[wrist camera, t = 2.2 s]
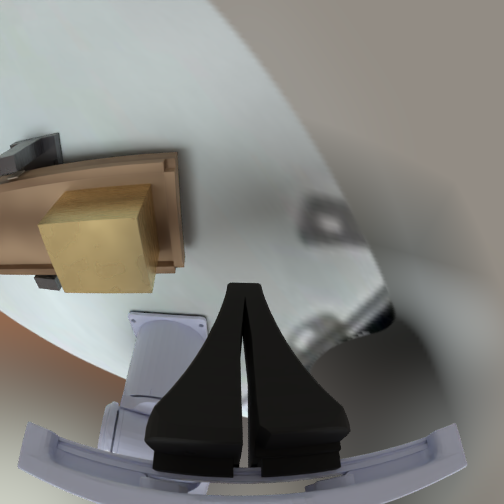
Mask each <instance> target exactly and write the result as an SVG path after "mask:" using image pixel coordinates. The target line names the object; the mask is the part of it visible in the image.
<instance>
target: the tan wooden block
mask: <svg viewBox="0 0 504 504" xmlns="http://www.w3.org/2000/svg"><path fill="white" fill-rule="evenodd" d="M38 228H39V231H40V234H41V236H42V239H43V242H44V244H45V247H46V250H47V252H48V255H49V257H50V260H51V262H52V265H53V267H54V269H55V272H56V274H57V276H58V279H59V281H60V283H61V285H62V287H63V290H64V292H65V293H152V291H153V285H154V280H155V274H156V269H157V264H158V259H159V254H160V248H159V241H158V235H157V228H156V220H155V213H154V205H153V197H152V188H151V184H136V185H122V186H111V187H100V188H90V189H81V190H72V191H65V192H64V193H63V194H62V196H61V197H60V198H59V199H58V200H57V201H56V203H55V204H54V205H53V206H52V207H51V209H50V210H49V211H48V212H47V213H46V215H45V216H44V217H43V219H42V220H41V221H40V222H39V224H38Z"/></svg>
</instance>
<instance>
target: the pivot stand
mask: <svg viewBox="0 0 504 504" xmlns="http://www.w3.org/2000/svg"><path fill="white" fill-rule="evenodd" d="M10 147H11V149H9V150H8V151H6V152H5V153H3V154H1V155H0V175H3V174H8V173H13V172H18V171H23V170H25V171H28V170H33V169H38V168H43V167H48V166H54V165H60V164H63V159H62V153H61V147H60V141H59V134H58V133H56V134H51V135H46V136H41V137H37V138H32V139H28V140H24V141H20V142H16V143H14V144H12V145H10ZM34 279H35V281H36V283H37V285H38V287H39V288H42V289H50V290H58V291H59V290H60V289H61V287H62V285H61V283H60V281H59V279H58V276H57V275H35V277H34Z"/></svg>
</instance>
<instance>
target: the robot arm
mask: <svg viewBox="0 0 504 504" xmlns="http://www.w3.org/2000/svg"><path fill="white" fill-rule="evenodd" d="M128 318H129V321H130V324H131V326H132V329H133V331H134V334H135V336H136V343H135V347H134V351H133V355H132V359H131V363H130V367H129V371H128V375H127V379H126V384H125V388H124V393H123V395H122V399H121V403H120V407H119V406H118V404H119V403H117V402H114V401H113V402H112V403H111V404H108V405H107V406H106V409H105V412H104V416H103V421H102V426H101V431H100V436H99V442H98V449H97V448H93V447H90V446H87V445H83V444H80V443H76V442H73V441H70V440H67V439H65V438H62V437H59V436H58V435H57V434H56V433H54V432H52V431H50V430H48V429H46V428H44V427H41V426H39V425H36V424H34V423H32V422H28V423H27V427H26V430H25V434H24V438H23V443H22V447H21V452H20V456H19V461H18V468H19V469H21V470H23V471H25V472H26V473H28V474H30V475H32V476H34V477H36V478H38V479H40V480H42V481H44V482H47V483H49V484H51V485H53V486H55V487H57V488H59V489H62V490H64V491H66V492H69V493H71V494H74V495H76V496H78V497H81V498H84V499H86V500H89V501H92V502H94V503H97V504H384V503H387V502H390V501H393V500H396V499H398V498H401V497H403V496H406V495H408V494H411V493H413V492H416V491H418V490H420V489H422V488H424V487H427V486H429V485H431V484H433V483H435V482H437V481H439V480H441V479H444V478H445V477H448V476H450V475H451V474H453V473H455V472H457V471H459V470H461V469H463V468H465V467H466V466H467V462H466V458H465V454H464V450H463V446H462V443H461V439H460V436H459V432H458V429H457V426H456V424H455V423H454V424H451V425H448V426H446V427H443V428H441V429H438V430H436V431H434V432H432V433H431V434H429V435H428V436H427V437H425V438H422V439H419V440H416V441H413V442H409V443H406V444H403V445H400V446H396V447H393V448H389V449H385V450H381V451H377V452H373V453H369V454H364V455H360V456H355V457H350V458H344V459H340V456H339V451H340V450H341V446H340V441H341V440H342V439H343V438H344V437H346V436H347V434H349V432H350V425H349V421H348V418H347V415H346V413H345V411H344V408H343V407H342V406H341V405H340V404H339V403H338V402H337V401H336V400H335V399H334V398H333V397H331V396H330V395H329V394H328V393H327V392H326V391H325V390H324V389H323V388H322V387H321V386H320V385H319V384H318V383H317V381H316V380H315V379H314V378H313V377H312V376H311V374H310V373H309V372H308V371H307V370H306V368H305V367H304V366H303V365H302V363H301V362H300V361H299V359H298V358H297V357H296V355H295V354H294V352H293V351H292V350H291V348H290V346H289V345H288V343H287V342H286V340H285V338H284V337H283V335H282V333H281V332H280V330H279V328H278V326H277V324H276V322H275V320H274V318H273V316H272V314H271V312H270V310H269V307H268V305H267V302H266V300H265V297H264V294H263V291H262V287H261V285H260V284H259V283H229V284H228V285H227V291H226V295H225V298H224V301H223V304H222V307H221V309H220V312H219V314H218V316H217V319H216V321H215V323H214V325H213V327H212V329H211V331H210V333H209V335H208V332H207V321H206V318H204V317H201V316H182V315H166V314H152V313H139V312H129V314H128ZM242 336H243V344H244V353H245V362H246V371H247V382H248V468H239V462H240V458H241V452H242V446H243V432H242V404H241V366H240V357H241V346H242ZM341 474H343V475H342V476H339V477H334V478H330V479H326V480H320V481H317V482H316V483H314V484H311V485H308V486H306V487H305V490H306V491H305V492H302V493H291V494H277V495H254V496H224V495H221V496H219V495H206V493H207V489H208V486H209V483H228V484H229V483H230V484H255V483H276V482H290V481H299V480H308V479H316V478H323V477H329V476H335V475H341Z"/></svg>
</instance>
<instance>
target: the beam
mask: <svg viewBox="0 0 504 504" xmlns="http://www.w3.org/2000/svg"><path fill="white" fill-rule="evenodd" d="M136 184H151V188H152V197H153V205H154V213H155V220H156V228H157V235H158V241H159V248H160V254H159V259H158V264H157V269H156V274H158V273H175V270H176V267H184V263H185V252H184V242H183V231H182V219H181V206H180V192H179V175H178V154H177V152H169V153H153V154H140V155H129V156H119V157H109V158H101V159H93V160H86V161H79V162H72V163H66V164H60V165H54V166H48V167H43V168H38V169H33V170H28V171H25V170H23V171H18V172H15V173H14V174H10V175H6V176H1V177H0V274H3V275H57V274H56V272H55V269H54V267H53V265H52V262H51V260H50V257H49V255H48V252H47V250H46V247H45V244H44V242H43V239H42V236H41V234H40V231H39V228H38V224H39V222H40V221H41V220H42V219H43V217H44V216H45V215H46V213H47V212H48V211H49V210H50V209H51V207H52V206H53V205H54V204H55V203H56V201H57V200H58V199H59V198H60V197H61V196H62V194H63V193H64V192H65V191H72V190H81V189H90V188H100V187H111V186H122V185H136Z"/></svg>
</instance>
